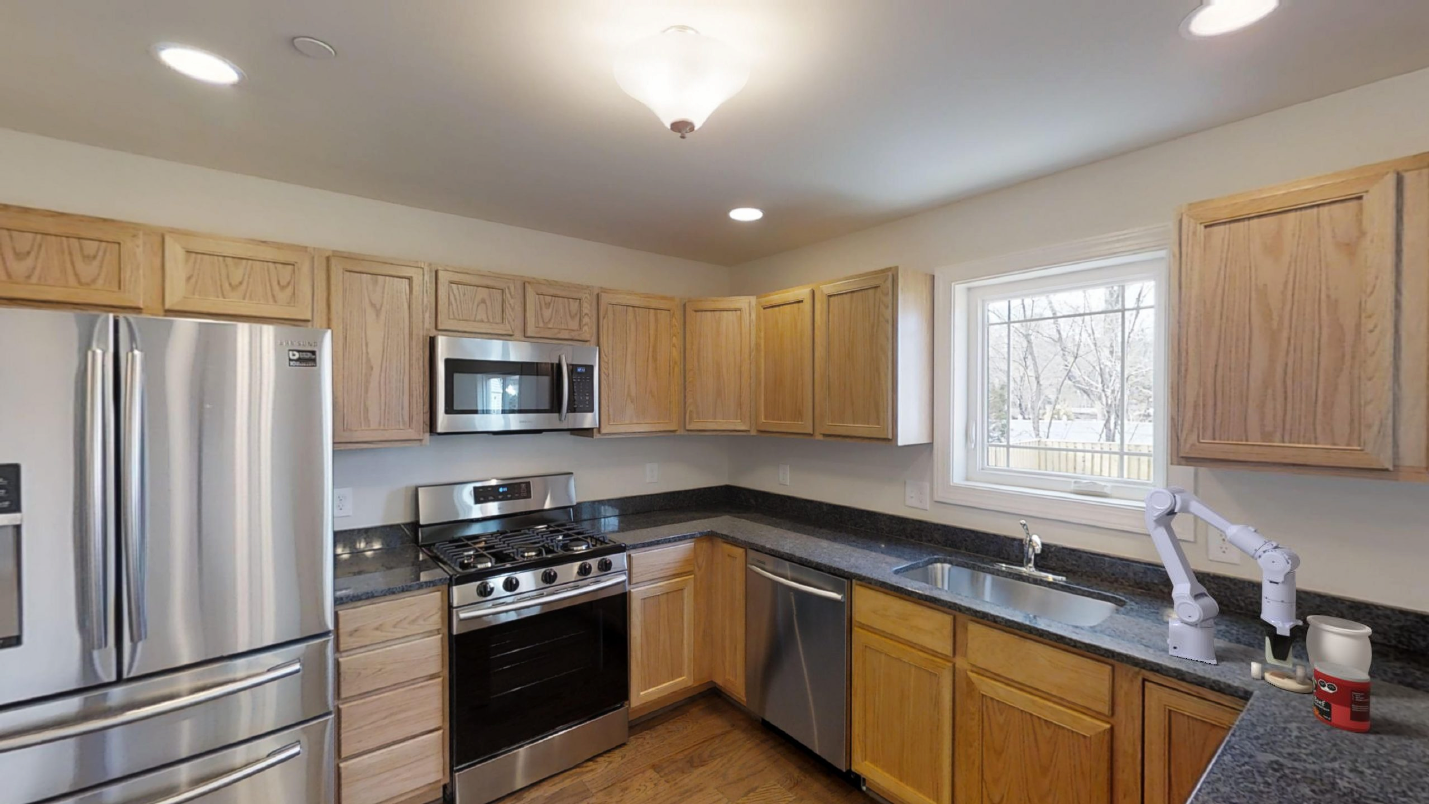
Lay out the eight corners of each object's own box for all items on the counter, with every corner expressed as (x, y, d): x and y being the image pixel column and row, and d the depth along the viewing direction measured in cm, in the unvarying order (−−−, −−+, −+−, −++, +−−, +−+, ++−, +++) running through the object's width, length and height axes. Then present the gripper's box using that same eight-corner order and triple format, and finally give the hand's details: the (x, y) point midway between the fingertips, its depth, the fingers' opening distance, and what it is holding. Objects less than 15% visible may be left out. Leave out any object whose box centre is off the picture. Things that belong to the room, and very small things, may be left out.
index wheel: (1306, 696, 131) (1306, 671, 131) (1259, 681, 137) (1259, 657, 137) (1317, 687, 135) (1317, 663, 135) (1271, 673, 142) (1271, 650, 142)
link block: (1268, 663, 137) (1268, 641, 137) (1265, 657, 140) (1265, 636, 140) (1291, 667, 134) (1292, 646, 134) (1288, 661, 137) (1288, 640, 137)
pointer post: (1251, 678, 139) (1251, 663, 139) (1250, 675, 141) (1250, 661, 141) (1261, 680, 138) (1262, 666, 138) (1260, 677, 140) (1260, 663, 140)
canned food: (1310, 708, 126) (1311, 658, 126) (1364, 721, 121) (1365, 669, 121) (1316, 723, 120) (1317, 670, 120) (1374, 738, 115) (1374, 683, 115)
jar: (1351, 700, 129) (1352, 633, 129) (1294, 679, 139) (1295, 616, 139) (1382, 694, 132) (1383, 629, 132) (1324, 673, 142) (1325, 612, 142)
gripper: (1308, 611, 129) (1308, 672, 129) (1296, 594, 140) (1295, 650, 140) (1265, 604, 133) (1264, 663, 133) (1256, 588, 145) (1256, 642, 145)
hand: (1278, 656), depth 137 cm, fingers closed on link block, 4 cm apart
